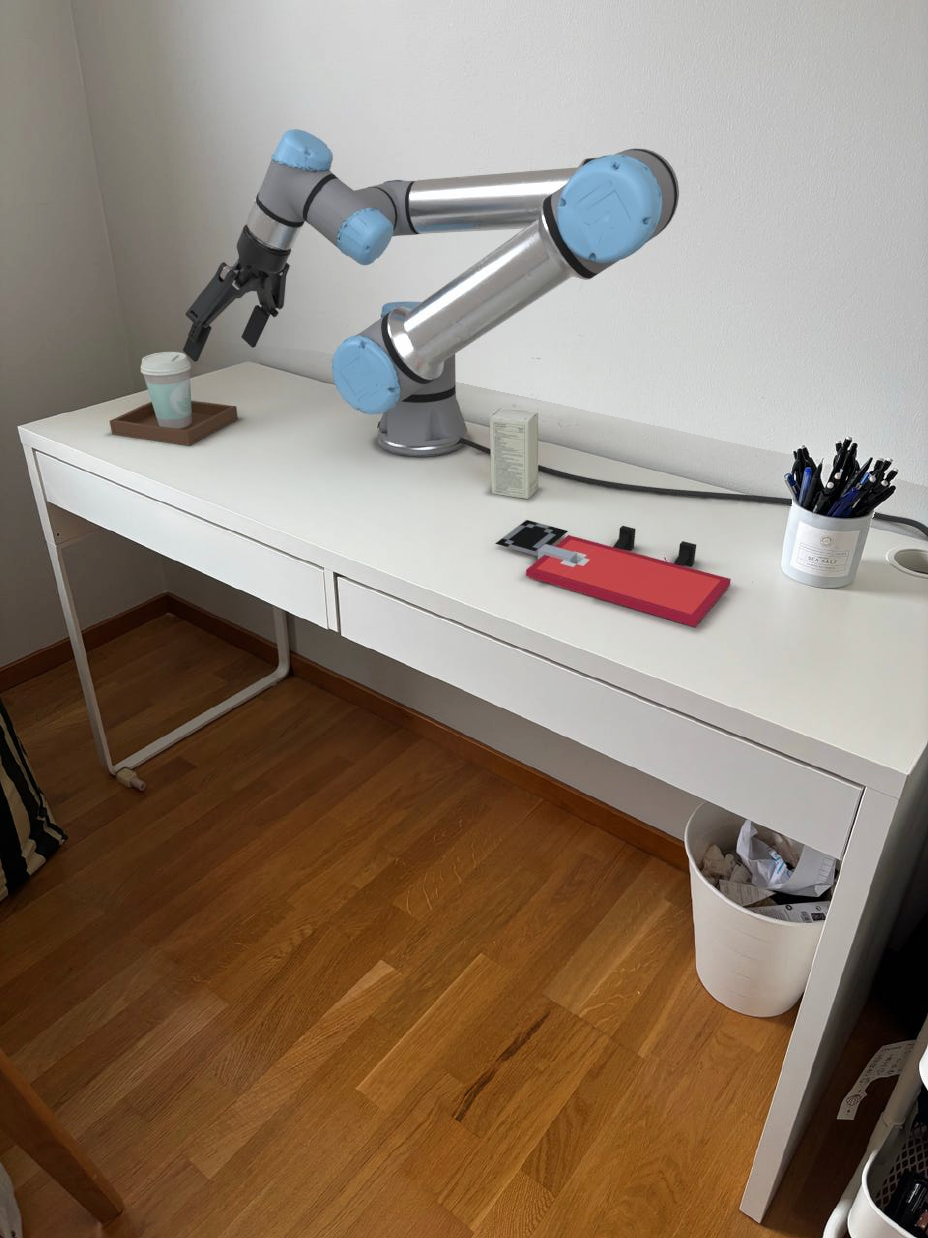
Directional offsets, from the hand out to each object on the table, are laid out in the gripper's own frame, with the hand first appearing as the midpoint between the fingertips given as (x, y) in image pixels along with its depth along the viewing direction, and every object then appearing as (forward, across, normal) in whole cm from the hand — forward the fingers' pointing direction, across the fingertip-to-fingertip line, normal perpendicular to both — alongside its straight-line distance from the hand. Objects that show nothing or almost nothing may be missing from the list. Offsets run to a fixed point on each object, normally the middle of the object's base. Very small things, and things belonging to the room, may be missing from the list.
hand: (220, 348), depth 155 cm
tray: (+22, -4, -4) cm, 23 cm away
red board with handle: (-25, +12, +71) cm, 76 cm away
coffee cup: (+22, -4, -5) cm, 23 cm away
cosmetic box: (-14, -6, +52) cm, 54 cm away
